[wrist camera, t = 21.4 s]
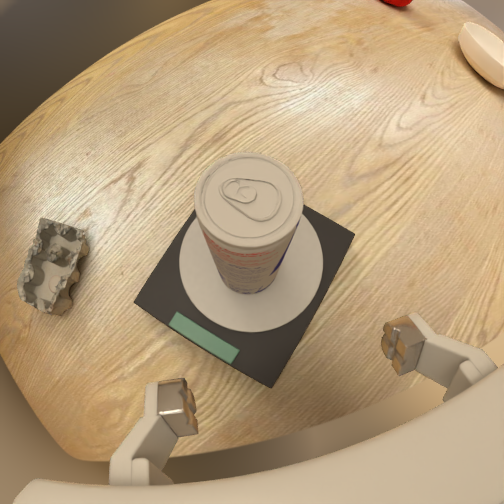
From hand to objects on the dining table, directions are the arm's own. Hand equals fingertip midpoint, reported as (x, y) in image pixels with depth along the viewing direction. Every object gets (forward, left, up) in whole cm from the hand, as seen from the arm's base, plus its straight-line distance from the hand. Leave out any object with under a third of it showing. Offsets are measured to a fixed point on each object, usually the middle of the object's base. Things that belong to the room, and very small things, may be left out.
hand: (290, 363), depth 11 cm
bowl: (+76, -19, -20) cm, 81 cm away
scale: (+6, +5, -20) cm, 22 cm away
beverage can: (+6, +5, -17) cm, 19 cm away
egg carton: (-6, +25, -20) cm, 33 cm away
